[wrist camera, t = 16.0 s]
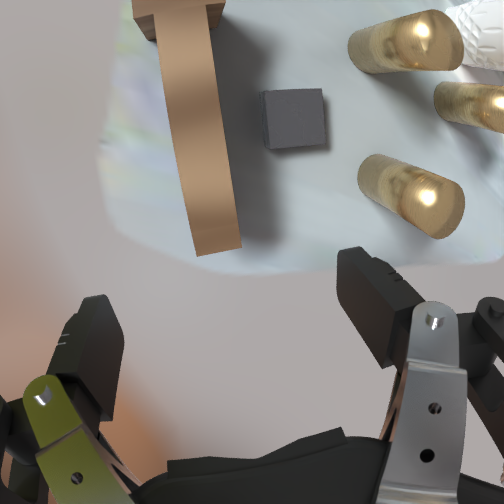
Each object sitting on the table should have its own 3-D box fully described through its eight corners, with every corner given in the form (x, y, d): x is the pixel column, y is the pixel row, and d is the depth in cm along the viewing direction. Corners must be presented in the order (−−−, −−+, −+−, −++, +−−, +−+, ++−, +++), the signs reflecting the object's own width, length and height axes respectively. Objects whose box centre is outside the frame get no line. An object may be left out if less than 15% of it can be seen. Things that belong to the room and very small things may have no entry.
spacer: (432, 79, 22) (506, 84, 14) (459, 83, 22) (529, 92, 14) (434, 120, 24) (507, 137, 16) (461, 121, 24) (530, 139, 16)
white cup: (480, 15, 19) (549, 12, 10) (486, 78, 22) (559, 89, 14) (431, -8, 18) (507, -23, 9) (439, 62, 21) (522, 65, 12)
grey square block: (258, 92, 21) (264, 90, 19) (311, 89, 22) (321, 88, 20) (264, 146, 23) (270, 149, 21) (315, 141, 23) (325, 144, 22)
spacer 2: (356, 155, 24) (425, 183, 16) (395, 152, 25) (467, 179, 17) (357, 200, 26) (420, 243, 18) (394, 195, 26) (460, 233, 18)
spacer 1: (344, 27, 19) (413, 3, 11) (385, 32, 20) (459, 17, 12) (350, 73, 21) (423, 66, 13) (391, 75, 21) (467, 74, 13)
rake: (244, 212, 25) (259, 244, 19) (181, 225, 24) (179, 260, 19) (214, 9, 17) (222, -21, 12) (145, 21, 17) (131, -5, 11)
